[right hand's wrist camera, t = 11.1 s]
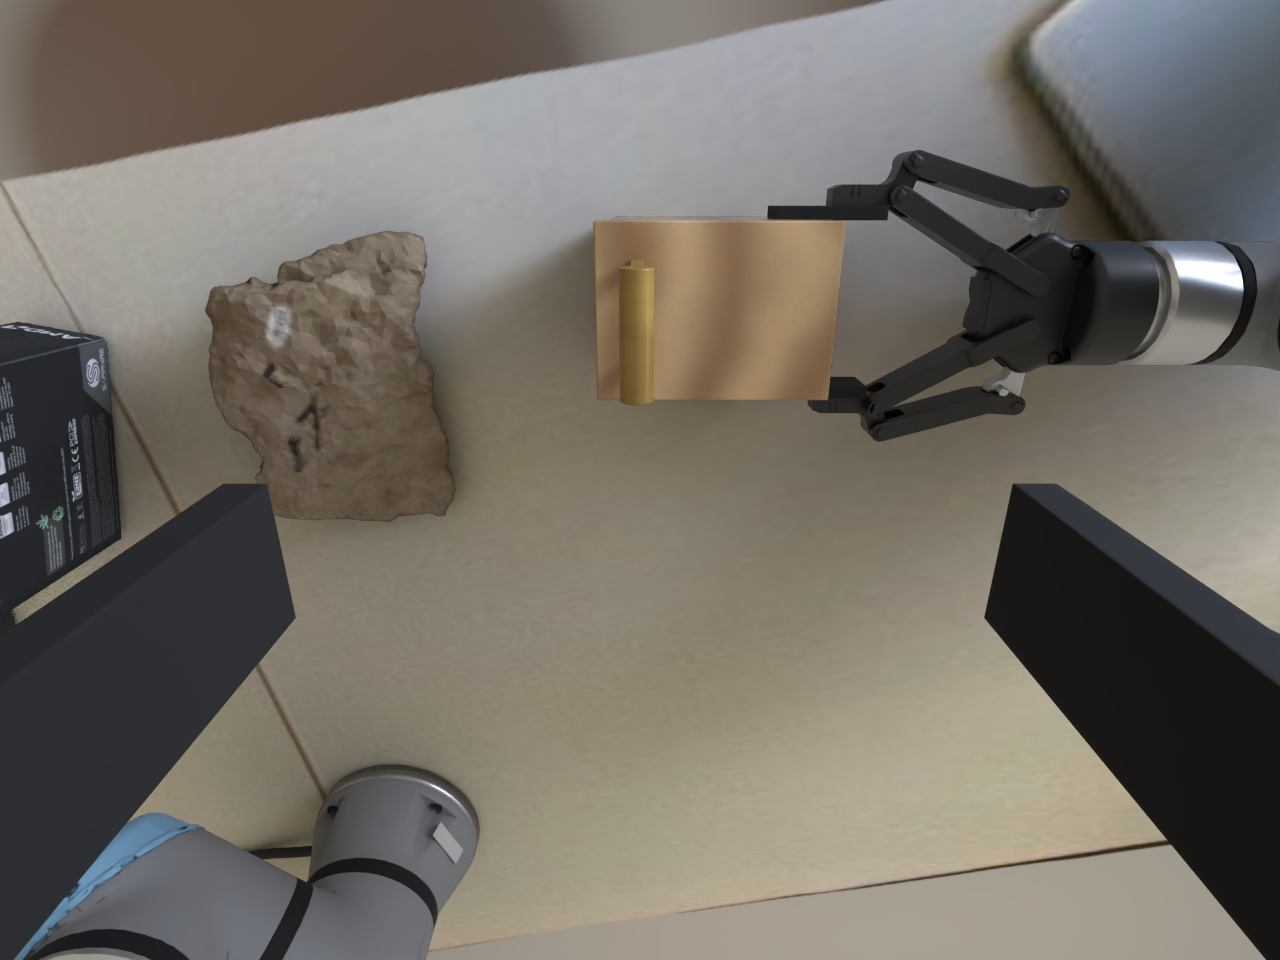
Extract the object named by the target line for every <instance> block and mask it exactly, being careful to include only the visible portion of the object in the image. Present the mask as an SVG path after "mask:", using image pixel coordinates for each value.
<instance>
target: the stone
mask: <svg viewBox="0 0 1280 960" xmlns="http://www.w3.org/2000/svg"><path fill="white" fill-rule="evenodd" d="M426 265H427V254H426V251H425V243H424V239H423V237H421V236H418V235H415V234H412V233H409V232H400V233H398V232H392V231H384V232H379V233H375V234H371V235H367V236H363V237H359V238H355V239H352V240H349V241H347V242H345V243H344V244H342V245H330V246H328V247H327V248H324V249H320V250H317V251H316V252H315V253H313V254H312V255H311V256H308V257H305V258H302V259H300V260H297V261H290V262H283V263H282V265H281V266H280V267H279V271H278V276H277V278H278V283H275V284H267V283H265V282H262V281H260V280H259V279H257V278H256V277H251V278H250V279H249V280H248V281H247V282H245V283H242V284H238V285H235V286H219V287H214V288H213V289H212V290H211V291H210V296H209V300H208V303H207V306H206V309H205V311H206V314H207V315H208V316H209V318H210V319H211V322H212V325H213V337H212V342H211V345H210V347H209V352H210V359H209V375H210V381H211V386H212V390H213V394H214V398H215V401H216V405H217V407H218V408H219V409H220V411H221V413H222V415H223V418H224V420H225V421H226V422H227V424H228V425H229V426H230V427H231V428H233V429H234V430H236V431H239V432H241V433H242V434H243V435H245V436H246V437H247V438H248V439H249V440H250V441H251V443H252V445H253V447H254V448H255V450H256V451H257V452H258V453H259V455H260V456H261V457H262V459H263V462H262V464H261V466H260V469H261V471H260V472H259V473H258V474H256V477H255V478H256V480H257V482H258V484H267V485H268V490H269V495H270V500H271V504H272V509H273V514H274V515H276V516H280V517H285V518H289V519H303V520H320V519H354V520H363V521H389V522H390V521H392V520H394V519H395V518H397V517H398V516H404V515H416V514H423V513H432V514H434V515H436V516H445V514H446V511H447V508H448V505H449V504H450V503H451V502H452V501H453V500H454V494H455V489H456V488H455V483H454V480H453V476H452V474H451V472H450V470H449V468H448V466H447V465H446V463H447V461H448V459H449V450H448V440H447V437H446V434H445V432H444V431H443V429H442V427H441V422H440V419H439V416H438V413H437V412H436V410H435V409H434V405H433V403H434V396H433V393H432V388H433V376H434V372H433V370H432V365H431V363H430V362H428V361H425V360H423V359H422V358H421V357H420V349H421V348H420V346H419V336H418V335H417V334H416V331H415V327H414V325H413V323H414V321H415V313H416V311H417V309H418V308H419V304H420V286H421V285H422V284H423V282H424V279H425V276H426V275H425V271H424V268H426Z"/></svg>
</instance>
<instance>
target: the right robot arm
mask: <svg viewBox="0 0 1280 960" xmlns="http://www.w3.org/2000/svg"><path fill="white" fill-rule="evenodd" d="M295 618H296V617H295V612H294V607H293V603H292V598H291V593H290V589H289V584H288V579H287V575H286V570H285V565H284V561H283V556H282V551H281V546H280V542H279V537H278V532H277V528H276V523H275V518H274V514H273V509H272V504H271V500H270V495H269V490H268V485H267V484H223V485H221V486H220V487H218V488H217V489H215V490H214V491H212V492H211V493H209V494H208V495H206V496H205V497H203V498H202V499H201V500H199V501H198V502H196V503H195V504H193V505H192V506H190V507H189V508H187V509H186V510H184V511H183V512H181V513H180V514H179V515H177V516H176V517H174V518H173V519H171V520H170V521H168V522H167V523H165V524H164V525H162V526H161V527H159V528H158V529H157V530H155V531H154V532H152V533H151V534H149V535H148V536H146V537H145V538H143V539H142V540H140V541H139V542H137V543H136V544H134V545H133V546H132V547H130V548H129V549H127V550H126V551H124V552H123V553H121V554H120V555H118V556H117V557H115V558H114V559H112V560H111V561H110V562H108V563H107V564H105V565H104V566H102V567H101V568H99V569H98V570H96V571H95V572H93V573H92V574H90V575H89V576H88V577H86V578H85V579H83V580H82V581H80V582H79V583H77V584H76V585H74V586H73V587H71V588H70V589H68V590H67V591H65V592H64V593H63V594H61V595H60V596H58V597H57V598H55V599H54V600H52V601H51V602H49V603H48V604H46V605H45V606H43V607H42V608H41V609H39V610H38V611H36V612H35V613H33V614H32V615H30V616H29V617H27V618H26V619H24V620H23V621H21V622H20V623H19V624H17V625H16V626H14V627H13V628H11V629H10V630H8V631H7V632H5V633H4V634H2V635H1V636H0V960H426V957H427V953H428V949H429V946H430V942H431V938H432V934H433V930H434V927H435V923H436V920H437V917H438V914H439V912H440V911H441V909H442V908H443V906H444V905H445V903H446V902H447V900H448V899H449V897H450V896H451V894H452V893H453V891H454V890H455V888H456V887H457V885H458V884H459V882H460V881H461V879H462V878H463V876H464V875H465V873H466V872H467V870H468V868H469V866H470V865H471V863H472V861H473V858H474V855H475V851H476V847H477V843H478V839H479V822H478V818H477V815H476V812H475V810H474V808H473V806H472V805H471V803H470V801H469V800H468V799H467V798H466V796H465V795H464V794H463V793H462V792H461V791H460V790H459V789H457V788H456V787H455V786H454V785H452V784H451V783H450V782H448V781H447V780H445V779H443V778H441V777H439V776H437V775H435V774H433V773H430V772H428V771H425V770H422V769H418V768H414V767H408V766H400V765H382V766H374V767H369V768H365V769H362V770H359V771H357V772H354V773H352V774H350V775H348V776H347V777H345V778H344V779H342V780H341V781H340V782H338V783H337V784H336V785H335V786H334V787H333V789H332V790H331V791H330V793H329V794H328V796H327V798H326V800H325V802H324V804H323V805H322V807H321V809H320V811H319V813H318V816H317V820H316V824H315V830H314V838H313V846H303V847H290V848H270V849H262V850H256V851H251V852H247V851H245V850H243V849H241V848H239V847H237V846H235V845H233V844H232V843H230V842H228V841H226V840H224V839H222V838H220V837H218V836H216V835H214V834H212V833H210V832H209V831H207V830H205V828H204V827H202V826H199V825H195V824H192V825H191V824H188V823H186V822H184V821H181V820H179V819H176V818H174V817H171V816H169V815H167V814H164V813H147V814H144V815H141V816H138V817H137V818H135V819H133V820H131V821H130V822H128V821H129V819H130V818H131V817H132V816H133V815H134V813H135V812H136V811H137V810H138V809H139V807H140V806H141V805H142V804H143V802H144V801H145V800H146V799H147V798H148V796H149V795H150V794H151V793H152V792H153V790H154V789H155V788H156V787H157V785H158V784H159V783H160V782H161V781H162V779H163V778H164V777H165V776H166V775H167V773H168V772H169V771H170V770H171V768H172V767H173V766H174V765H175V764H176V762H177V761H178V760H179V759H180V758H181V756H182V755H183V754H184V753H185V752H186V750H187V749H188V748H189V747H190V745H191V744H192V743H193V742H194V741H195V739H196V738H197V737H198V736H199V735H200V733H201V732H202V731H203V730H204V728H205V727H206V726H207V725H208V724H209V722H210V721H211V720H212V719H213V718H214V716H215V715H216V714H217V713H218V711H219V710H220V709H221V708H222V707H223V705H224V704H225V703H226V702H227V701H228V699H229V698H230V697H231V696H232V694H233V693H234V692H235V691H236V690H237V688H238V687H239V686H240V685H241V684H242V682H243V681H244V680H245V679H246V677H247V676H248V675H249V674H250V673H251V671H252V670H253V669H254V668H255V667H256V665H257V664H258V663H259V662H260V661H261V659H262V658H263V657H264V656H265V654H266V653H267V652H268V651H269V650H270V648H271V647H272V646H273V645H274V644H275V642H276V641H277V640H278V639H279V637H280V636H281V635H282V634H283V633H284V631H285V630H286V629H287V628H288V627H289V625H290V624H291V623H292V622H293V620H294V619H295ZM984 618H985V619H986V620H987V622H988V623H989V624H990V625H991V627H992V628H993V629H994V630H995V631H996V633H997V634H998V635H999V636H1000V637H1001V639H1002V640H1003V641H1004V642H1005V644H1006V645H1007V646H1008V647H1009V648H1010V650H1011V651H1012V652H1013V653H1014V654H1015V656H1016V657H1017V658H1018V659H1019V661H1020V662H1021V663H1022V664H1023V665H1024V667H1025V668H1026V669H1027V670H1028V671H1029V673H1030V674H1031V675H1032V676H1033V678H1034V679H1035V680H1036V681H1037V682H1038V684H1039V685H1040V686H1041V687H1042V688H1043V690H1044V691H1045V692H1046V693H1047V694H1048V696H1049V697H1050V698H1051V699H1052V701H1053V702H1054V703H1055V704H1056V705H1057V707H1058V708H1059V709H1060V710H1061V711H1062V713H1063V714H1064V715H1065V716H1066V718H1067V719H1068V720H1069V721H1070V722H1071V724H1072V725H1073V726H1074V727H1075V728H1076V730H1077V731H1078V732H1079V733H1080V735H1081V736H1082V737H1083V738H1084V739H1085V741H1086V742H1087V743H1088V744H1089V745H1090V747H1091V748H1092V749H1093V750H1094V752H1095V753H1096V754H1097V755H1098V756H1099V758H1100V759H1101V760H1102V761H1103V762H1104V764H1105V765H1106V766H1107V767H1108V768H1109V770H1110V771H1111V772H1112V773H1113V775H1114V776H1115V777H1116V778H1117V779H1118V781H1119V782H1120V783H1121V784H1122V785H1123V787H1124V788H1125V789H1126V790H1127V792H1128V793H1129V794H1130V795H1131V796H1132V798H1133V799H1134V800H1135V801H1136V802H1137V804H1138V805H1139V806H1140V807H1141V809H1142V810H1143V811H1144V812H1145V813H1146V815H1147V816H1148V817H1149V818H1150V819H1151V821H1152V822H1153V823H1154V824H1155V826H1156V827H1157V828H1158V829H1159V830H1160V832H1161V833H1162V834H1163V835H1164V836H1165V838H1166V839H1167V840H1168V841H1169V842H1170V844H1171V845H1172V846H1173V847H1174V849H1175V850H1176V851H1177V852H1178V853H1179V855H1180V856H1181V857H1182V858H1183V859H1184V861H1185V862H1186V863H1187V864H1188V866H1189V867H1190V868H1191V869H1192V870H1193V872H1194V873H1195V874H1196V875H1197V876H1198V878H1199V879H1200V880H1201V881H1202V883H1203V884H1204V885H1205V886H1206V887H1207V889H1208V890H1209V891H1210V892H1211V893H1212V895H1213V896H1214V897H1215V898H1216V899H1217V901H1218V902H1219V903H1220V904H1221V906H1222V907H1223V908H1224V909H1225V910H1226V912H1227V913H1228V914H1229V915H1230V916H1231V918H1232V919H1233V920H1234V921H1235V923H1236V924H1237V925H1238V926H1239V927H1240V929H1241V930H1242V931H1243V932H1244V933H1245V935H1246V936H1247V937H1248V938H1249V940H1250V941H1251V942H1252V943H1253V944H1254V946H1255V947H1256V948H1257V949H1258V950H1259V952H1260V953H1261V954H1262V955H1263V957H1264V958H1265V959H1266V960H1280V634H1279V633H1277V632H1275V631H1272V630H1270V629H1269V628H1267V627H1266V626H1264V625H1263V624H1261V623H1260V622H1259V621H1257V620H1256V619H1254V618H1253V617H1251V616H1250V615H1248V614H1247V613H1245V612H1244V611H1242V610H1241V609H1239V608H1238V607H1237V606H1235V605H1234V604H1232V603H1231V602H1229V601H1228V600H1226V599H1225V598H1223V597H1222V596H1220V595H1219V594H1217V593H1216V592H1215V591H1213V590H1212V589H1210V588H1209V587H1207V586H1206V585H1204V584H1203V583H1201V582H1200V581H1198V580H1197V579H1195V578H1194V577H1192V576H1191V575H1190V574H1188V573H1187V572H1185V571H1184V570H1182V569H1181V568H1179V567H1178V566H1176V565H1175V564H1173V563H1172V562H1170V561H1169V560H1168V559H1166V558H1165V557H1163V556H1162V555H1160V554H1159V553H1157V552H1156V551H1154V550H1153V549H1151V548H1150V547H1148V546H1147V545H1146V544H1144V543H1143V542H1141V541H1140V540H1138V539H1137V538H1135V537H1134V536H1132V535H1131V534H1129V533H1128V532H1126V531H1125V530H1123V529H1122V528H1121V527H1119V526H1118V525H1116V524H1115V523H1113V522H1112V521H1110V520H1109V519H1107V518H1106V517H1104V516H1103V515H1101V514H1100V513H1099V512H1097V511H1096V510H1094V509H1093V508H1091V507H1090V506H1088V505H1087V504H1085V503H1084V502H1082V501H1081V500H1079V499H1078V498H1077V497H1075V496H1074V495H1072V494H1071V493H1069V492H1068V491H1066V490H1065V489H1063V488H1062V487H1060V486H1059V485H1057V484H1013V485H1012V490H1011V495H1010V500H1009V504H1008V509H1007V514H1006V518H1005V523H1004V528H1003V532H1002V537H1001V542H1000V546H999V551H998V556H997V561H996V565H995V570H994V575H993V579H992V584H991V589H990V593H989V598H988V603H987V607H986V612H985V617H984ZM127 822H128V823H127ZM126 823H127V824H126ZM307 856H311V862H310V870H309V878H308V881H307V882H305V881H303V880H301V879H299V878H297V877H295V876H293V875H291V874H289V873H287V872H285V871H283V870H281V869H279V868H278V867H276V866H274V865H272V864H270V863H268V862H266V861H264V860H263V859H271V858H293V857H307Z"/></svg>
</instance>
